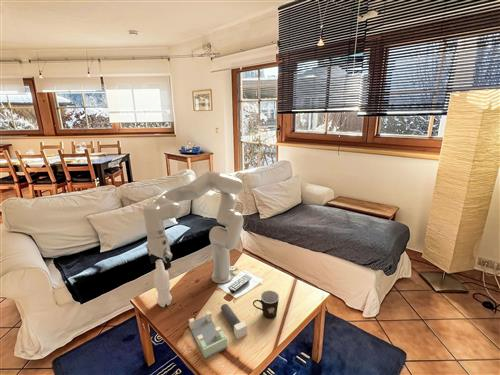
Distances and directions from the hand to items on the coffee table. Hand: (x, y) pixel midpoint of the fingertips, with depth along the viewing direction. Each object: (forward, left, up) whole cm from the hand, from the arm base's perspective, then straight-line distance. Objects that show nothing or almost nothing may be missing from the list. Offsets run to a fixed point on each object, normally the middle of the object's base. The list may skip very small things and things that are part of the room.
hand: (161, 265), depth 123 cm
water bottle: (0, -6, -26) cm, 27 cm away
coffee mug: (-40, +27, -26) cm, 55 cm away
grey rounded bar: (-24, +22, -26) cm, 42 cm away
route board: (-11, +24, -26) cm, 37 cm away
